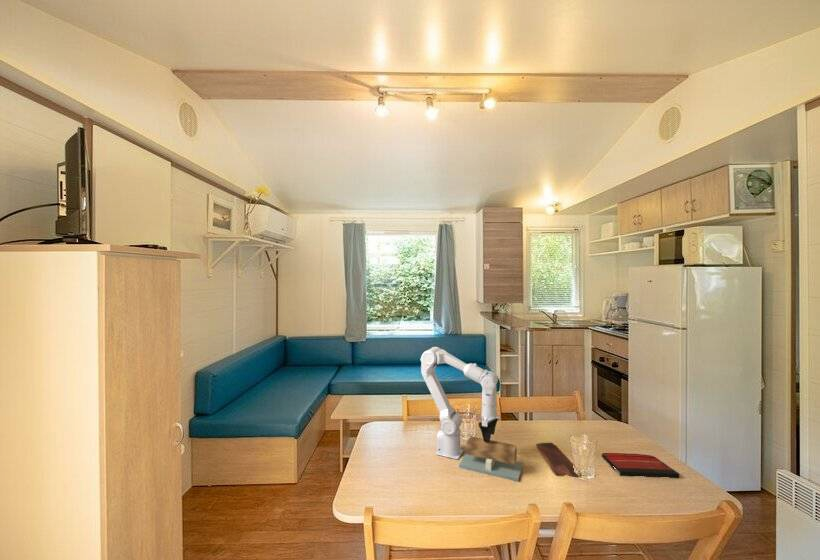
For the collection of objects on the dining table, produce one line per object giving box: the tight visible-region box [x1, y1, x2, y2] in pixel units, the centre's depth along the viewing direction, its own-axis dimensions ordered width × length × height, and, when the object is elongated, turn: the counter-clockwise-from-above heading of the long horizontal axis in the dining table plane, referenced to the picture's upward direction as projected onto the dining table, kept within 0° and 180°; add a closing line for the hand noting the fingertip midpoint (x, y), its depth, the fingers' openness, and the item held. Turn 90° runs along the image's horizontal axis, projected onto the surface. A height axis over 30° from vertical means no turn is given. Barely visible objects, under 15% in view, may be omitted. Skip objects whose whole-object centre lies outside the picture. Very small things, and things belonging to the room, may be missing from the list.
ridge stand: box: [458, 452, 524, 482], centre depth 137 cm, size 22×12×4 cm, turn 65°
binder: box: [601, 452, 680, 479], centre depth 137 cm, size 16×2×21 cm
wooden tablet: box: [535, 442, 578, 478], centre depth 143 cm, size 26×2×10 cm
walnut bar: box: [466, 435, 518, 465], centre depth 137 cm, size 18×5×5 cm, turn 65°
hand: (488, 437), depth 140 cm, fingers open, 7 cm apart
